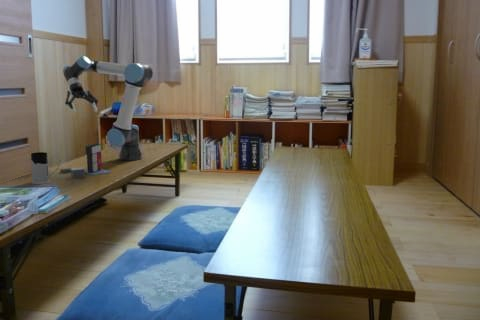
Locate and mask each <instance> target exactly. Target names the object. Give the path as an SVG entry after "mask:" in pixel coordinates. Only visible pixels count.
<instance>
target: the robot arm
mask: <svg viewBox="0 0 480 320" xmlns="http://www.w3.org/2000/svg"><path fill="white" fill-rule="evenodd" d="M62 72H63V77H64V78H65V80H66V83H67V85H68V88H69V90H70V91H69V90H67V91H66V99H65V102H64V104H65V105H66V106H67V105H68V107H69V108H70V110H71V111H72V113H73V115H74V114H76V112H77V110H76V106H75V105H74V100H76V99H83V100H86V101H88V102H89V103H90V104H92V105H91V106H92V107H93V108H92V109H93V111H94V112H95V114H97V113H98V111H99V109H98V103H99V99H97V98H96V97H95V96H94V95H93V94H92V93H91V92H90V90H87V91H84V88H83V85H82V83H81V81H80V78H79V77H80V76H81V75H82V74H83V73H86V72H87V73H97V74H98V73H99V74H106V75H112V76H113V75H114V76H120V77H124V83H125V89H124V92H123V97H122V99H121V103H120V107H119V111H118V114H117V118H116V121H115V122H113V123H112V127H111V128H110V129H109V130H108V132H107V133H106V138H107V139H106V140H107V141H108V143H109V144H110V145H111V146H112V147H115V148H119V147H120V150H119V154H118V160H121V161H139V160H142V159H143V154H142V152H141V149H140V135H139V134H140V130H139V126H138V125H136V124H132V123H131V122H132V120H133V117H134V112H135V108H136V106H137V102H138V98H139V94H140V91H141V90H142V89H144V85H145V83H147V82H149V81H150V80H151V79H153V76H154V72H153V69H152V67H151V66H150V65H149V64H146V63H139V62H132V63H131V62H130V63H129V64H124V63H116V62H109V61H108V62H107V61H101V60H96V59H95V60H93V59H92V60H91V59H90V58H88V57H87V56H85V55H82V56H80V57H79V58H78V59H77V60H75V62H74V63H73V64H72V65H70V64H69V65H66V66H64V67H63V69H62ZM71 95H72V97H71V98H70V96H71Z"/></svg>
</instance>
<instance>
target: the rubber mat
mask: <svg viewBox="0 0 480 320" xmlns="http://www.w3.org/2000/svg"><path fill="white" fill-rule="evenodd" d="M111 173H112V172H111V171H110V170H106V169H104V168H102V169H100V170H98V171H96V172H93V173H88V169H87V168H86V169H84V174H86V175H87V174H88V175H90V176H98V175H99V176H100V175H105V174H111Z"/></svg>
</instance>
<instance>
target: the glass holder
mask: <svg viewBox="0 0 480 320" xmlns="http://www.w3.org/2000/svg"><path fill="white" fill-rule="evenodd" d="M53 157H58V158H59V160H61V157H60V156H59V155H57V154H54V155H52V156H51V158H50V162H48V152H43V151H42V152H39V151H38V152H32V153H31V154H30V165H31V166H30V167H31V179H32V181H31V184H32V183H33V184H32V185H44V184H45V183H46V184H49V183H51V181H50V178H51V176H52V175H53V174H54V173H55V172H56V171H58V170H59V168H60V165H61V162H59V163H58V166H57V168H56V169H55V170H54V171H53V172H51V174H50V173H49V165H50V164H52V160H53V159H54V158H53Z"/></svg>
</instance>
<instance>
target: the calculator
mask: <svg viewBox="0 0 480 320" xmlns="http://www.w3.org/2000/svg"><path fill="white" fill-rule="evenodd" d="M101 149H102V148H101V144H100V143H92V144H89V145H87V146H85V154H86V163H87V165H86V166H87V168H86V169H88V173H93V172H96V171H98V170H100V169H103V165H102V164H103V163H102V152H101V151H102V150H101Z"/></svg>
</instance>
